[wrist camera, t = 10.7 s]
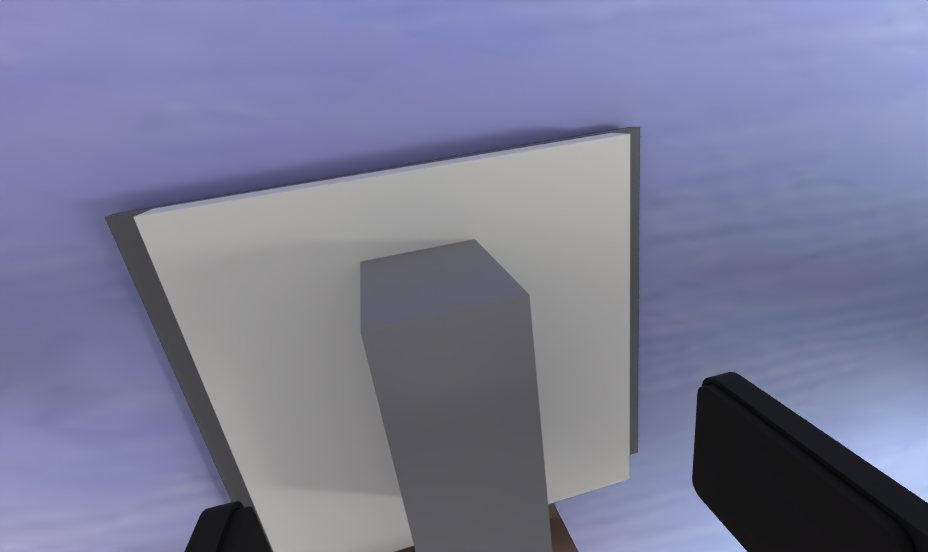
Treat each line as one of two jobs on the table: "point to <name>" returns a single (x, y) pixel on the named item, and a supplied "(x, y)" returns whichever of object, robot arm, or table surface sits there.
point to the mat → (186, 368)
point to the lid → (415, 344)
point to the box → (560, 537)
